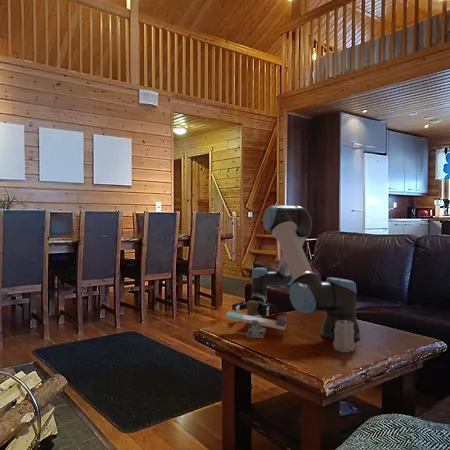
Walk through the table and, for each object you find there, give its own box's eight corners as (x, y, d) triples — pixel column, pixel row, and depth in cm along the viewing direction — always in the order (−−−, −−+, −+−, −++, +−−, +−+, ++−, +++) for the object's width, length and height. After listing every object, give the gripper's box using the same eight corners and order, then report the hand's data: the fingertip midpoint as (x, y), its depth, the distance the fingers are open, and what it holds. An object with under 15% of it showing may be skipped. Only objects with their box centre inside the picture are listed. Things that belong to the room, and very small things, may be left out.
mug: (353, 346, 158) (354, 314, 158) (357, 357, 147) (358, 322, 146) (332, 345, 160) (332, 313, 159) (334, 355, 148) (335, 321, 148)
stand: (265, 330, 179) (266, 314, 179) (263, 338, 168) (263, 321, 167) (249, 329, 181) (249, 313, 180) (245, 337, 169) (246, 320, 169)
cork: (261, 326, 186) (262, 301, 185) (251, 328, 182) (251, 302, 182) (253, 323, 191) (253, 299, 190) (242, 325, 187) (242, 300, 187)
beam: (285, 325, 175) (287, 317, 175) (284, 330, 168) (286, 321, 168) (227, 314, 180) (229, 305, 179) (224, 318, 173) (226, 309, 173)
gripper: (282, 311, 206) (280, 322, 185) (231, 308, 211) (224, 318, 190) (282, 295, 206) (280, 304, 185) (232, 293, 210) (224, 302, 190)
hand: (251, 312), depth 187 cm, fingers open, 13 cm apart
